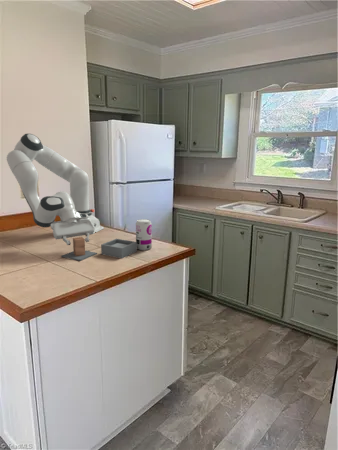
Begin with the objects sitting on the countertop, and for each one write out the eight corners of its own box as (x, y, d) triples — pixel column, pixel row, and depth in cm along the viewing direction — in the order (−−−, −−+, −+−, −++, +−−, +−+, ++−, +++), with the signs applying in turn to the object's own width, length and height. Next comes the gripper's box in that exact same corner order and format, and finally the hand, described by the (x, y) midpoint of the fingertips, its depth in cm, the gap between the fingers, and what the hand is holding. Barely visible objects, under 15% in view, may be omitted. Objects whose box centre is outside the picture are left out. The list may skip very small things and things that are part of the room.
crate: (116, 248, 176) (116, 238, 175) (136, 252, 171) (136, 241, 169) (101, 255, 165) (101, 244, 164) (122, 259, 160) (121, 248, 158)
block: (73, 253, 164) (72, 238, 162) (82, 252, 166) (81, 236, 164) (76, 256, 160) (75, 240, 158) (85, 254, 163) (84, 239, 161)
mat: (78, 250, 171) (78, 249, 171) (96, 253, 166) (96, 252, 166) (61, 256, 161) (61, 255, 161) (80, 260, 156) (80, 259, 155)
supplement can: (154, 247, 178) (154, 219, 175) (146, 251, 171) (146, 223, 167) (141, 245, 181) (140, 218, 178) (133, 249, 174) (132, 221, 171)
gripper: (50, 218, 160) (58, 243, 154) (90, 214, 171) (99, 236, 166) (48, 225, 164) (56, 249, 159) (87, 220, 176) (96, 242, 170)
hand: (78, 242), depth 162 cm, fingers open, 8 cm apart
